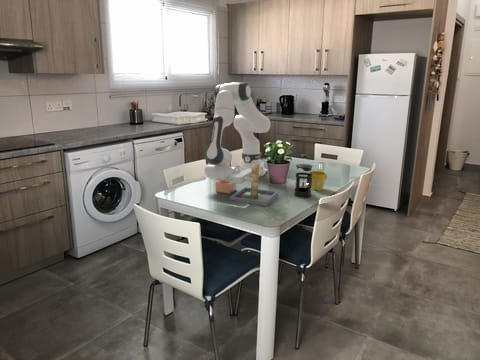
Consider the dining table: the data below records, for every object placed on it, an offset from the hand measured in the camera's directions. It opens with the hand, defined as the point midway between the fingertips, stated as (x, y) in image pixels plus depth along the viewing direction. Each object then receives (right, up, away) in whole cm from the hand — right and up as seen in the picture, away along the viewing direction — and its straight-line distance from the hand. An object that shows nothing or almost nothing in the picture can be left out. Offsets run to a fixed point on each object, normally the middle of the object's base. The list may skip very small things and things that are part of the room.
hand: (256, 177), depth 210 cm
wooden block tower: (-1, -11, +3) cm, 11 cm away
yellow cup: (+36, -7, +24) cm, 44 cm away
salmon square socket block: (-17, -8, +14) cm, 23 cm away
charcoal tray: (-1, -11, +3) cm, 12 cm away
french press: (+26, -10, +11) cm, 30 cm away
